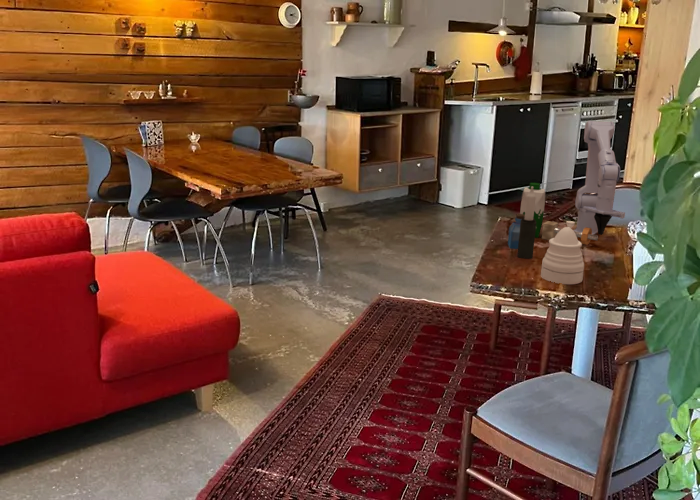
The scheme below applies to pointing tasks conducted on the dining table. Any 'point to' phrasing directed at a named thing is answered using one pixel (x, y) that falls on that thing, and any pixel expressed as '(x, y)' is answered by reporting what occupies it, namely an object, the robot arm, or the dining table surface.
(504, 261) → the dining table surface
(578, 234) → the pipe
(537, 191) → the milk carton
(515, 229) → the perfume bottle
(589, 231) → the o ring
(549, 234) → the clamp block
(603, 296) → the dining table surface
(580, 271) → the honey pot
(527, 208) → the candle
